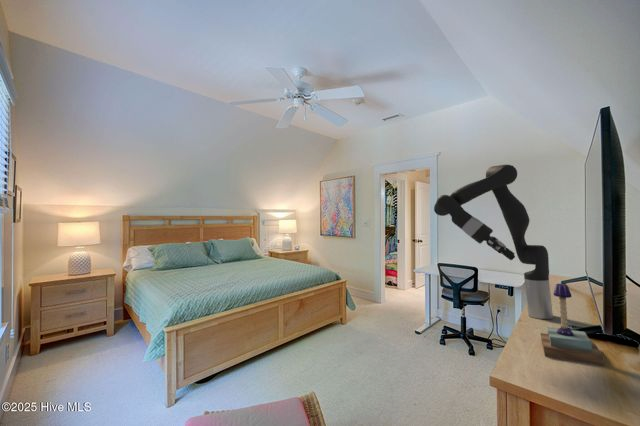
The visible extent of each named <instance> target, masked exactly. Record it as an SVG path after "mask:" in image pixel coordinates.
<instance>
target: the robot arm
mask: <svg viewBox="0 0 640 426" xmlns="http://www.w3.org/2000/svg"><path fill="white" fill-rule="evenodd" d="M517 177H518V170H517V169H516V167H515V166H514V165H512V164H500V165H494V166H490V167H488V168H487V170H486V171H485V177H484V178H483V179H480V180H476V181H473V182H470V183H468V184H466V185H463V186H461V187H460V188H457V189H456V190H454V191H453V192H452V193H451V194H450V195H449V194H441V195H440V196H438V198H437V199H436V202H435V204H434V207H433V211H434V213H435V214H436V215H438V216H441V217H444V216H450V217H451V222H452V223H453V224H454V225H455V226H457V227H458V228H459V229H461V230H462V231H463V232H464V233H465V234H466V235H467V236H468V237H470V238H471V239H473V240H474V241H475V242H476V243H478V244H479V245H481V244H482V243H483V242H484V241H485V243H486V245H487V246H488V247H490V248H492V249H493V250H494V251H495V252H497V253H498V254H501V255H503V256H504V257H506V258H507V259H508V260H510V261H513V259H515V258H516V256H515V254H516V255H517V258H518V260H519V261H520V263H522V264H525V265H534V266H535V267H534V269H532V270H530V271H529V270H528V271H526V272H524V273H523V278H524V286H525V288H524V289H525V296H526V306H527V315H528V317H531V318H534V319H540V320H552V319H553V318H554V312H553V301H552V296H551V295H552V293H551V287H550V286H551V285H550V277H549V276H550V264H549V251H548V250H547V248H546V247H545V246H544V245H539V244H537V245H536V244H527V241H526V238H525V237H526V236H525V235H526V233H527V230H528V227H529V224H530V217H529V214H528V210H527V209H526V207H525V205H524V204H523V203H522V201H520V199H519V198H517V197H516V196H515V195H514V194H513V193H512V192H511V191H510V189H509V187H508V185H511V184H513V183H514V182H515V181H516V179H518V178H517ZM491 191H492V193H493V195H494V197H495V199H496V202H497V204H498V206H499V209H500V210H501V214H502V216H503V218H504V221H505V223H506V227H507V228H508V231H509V233H510V235H511V238H512V243H513V245H514V248H515V252H516V253H514V252H513V251H512V250H511V249H509V248H508V247H507V246H506V245H505V244H504V243H503V241H501V240H499V238H497V237H496V236H491V234H492V233H493V232H494V230H493V228H491V227H489V226H488V225H487V224H486V223H484V222H482V221H481V220H480V219H478V218H476V217H475V216H473V215H472V214H471V213H469V212H468V211H466V210H465V209H464V208H463V207H462V206H463V205H464V204H467V203H469V202H471V201H472V200H474V199H476V198H478V197H480V196H482V195H484V194H486V193H488V192H491Z"/></svg>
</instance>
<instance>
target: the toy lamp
mask: <svg viewBox="0 0 640 426" xmlns="http://www.w3.org/2000/svg"><path fill="white" fill-rule="evenodd" d="M553 296H554V297H556V298H557V297H558V299H559V309H560V310H559V313H560V323H561V324H560V327H559V328H557V329H558V330H557V333H558V334H561V335H565V336H573V335H574V334H573V332H572V331H571V330H572V329H570V328H569V326H568V323H569V322H568V311H567V309H568V308H567V298H568V299H569V298H572V293H571V291H570V288H569V285H568V284H565V283H556V284H555V286H554V290H553Z"/></svg>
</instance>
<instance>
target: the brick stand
mask: <svg viewBox="0 0 640 426" xmlns="http://www.w3.org/2000/svg"><path fill="white" fill-rule="evenodd" d="M558 329H559V328H555V327H546V331H547V333H541V332H540V341H541V345H542V349H543V353H544V357H547V358H552V359H553V358H554V359H559V360H564V361H565V360H566V361H571V362H576V363H577V362H578V363H582V364H583V363H584V364H589V365H595V366H600V367H601V366H603V367H605V360H604V355H603V353H602V352H601V351H600V349H599V348H598V346H597V344H596V343H595V341H594V340H593V339H590V338H589V336H588V335H587V333H586V332H585V331H582V330H581V331H580V330H573V329H570V330H571V331H572V332H573V334H574V335H573V336H565V335H561V334H558V333H557V330H558Z"/></svg>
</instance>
